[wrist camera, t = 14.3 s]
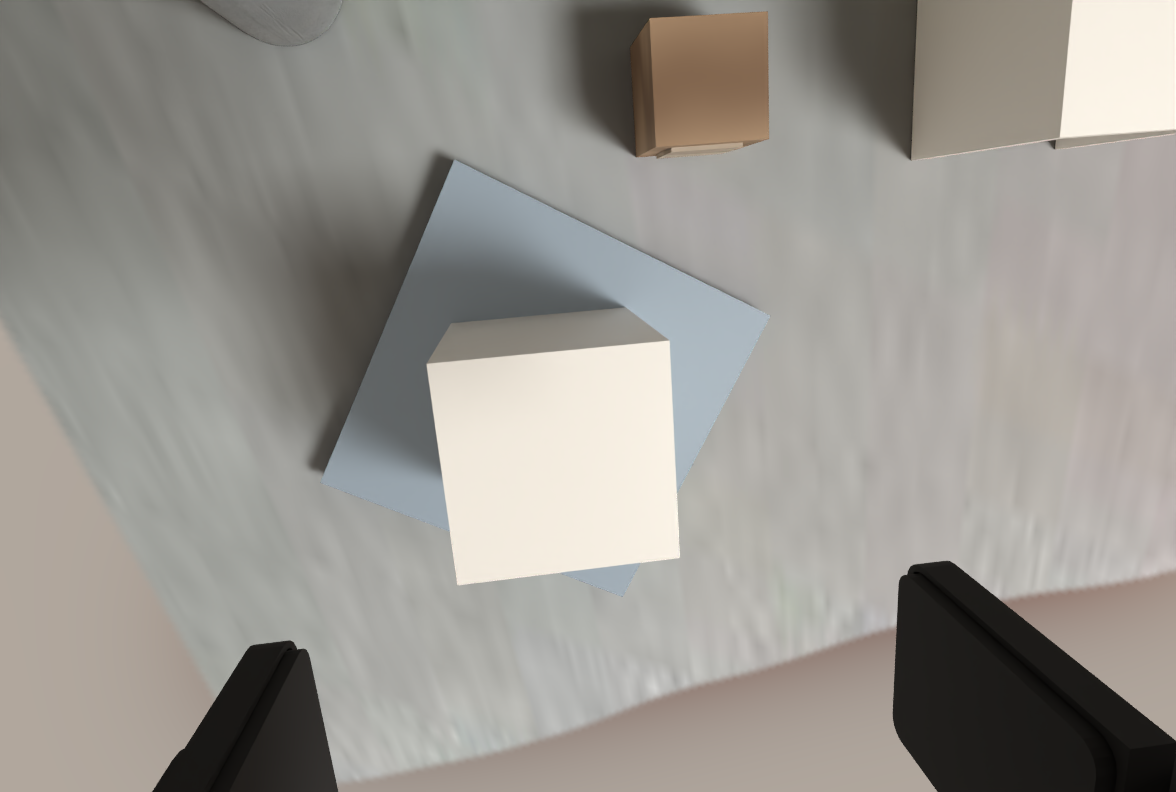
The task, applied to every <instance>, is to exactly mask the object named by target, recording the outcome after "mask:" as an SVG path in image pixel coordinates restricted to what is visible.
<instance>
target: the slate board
mask: <svg viewBox="0 0 1176 792" xmlns="http://www.w3.org/2000/svg"><path fill="white" fill-rule="evenodd" d="M624 307H626V308H627V309H629V310H630V311H631V312H633V313H634V314H635V315H637V316H638V317H639V318H640V319H642V320H643V321H644V322H646V323H647V324H648V325H650V326H651V327H652V328H654V329H655V330H656V331H658V332H659V333H660V334H662V335H663V336H664V337H666V338H667V339H668V340H670V359H671V381H672V402H673V423H674V444H675V466H676V487H677V493H678V491H679V489H680V487H681V485H682V483H683V481H684V479H685V477H686V476H687V474H688V472H689V470H690V468H691V466H692V464H693V462H694V460H695V458H696V457H697V455H698V453H699V451H700V449H701V447H702V445H703V443H704V441H705V439H706V437H707V436H708V434H709V432H710V430H711V428H712V426H713V424H714V422H715V420H716V418H717V417H718V415H719V413H720V411H721V409H722V407H723V405H724V403H725V401H726V399H727V397H728V396H729V394H730V392H731V390H732V388H733V386H734V384H735V382H736V380H737V378H738V377H739V375H740V373H741V371H742V369H743V367H744V365H745V363H746V361H747V359H748V358H749V356H750V354H751V352H752V350H753V348H754V346H755V344H756V342H757V340H758V338H759V337H760V335H761V333H762V331H763V329H764V327H765V325H766V323H767V321H768V319H769V318H770V315H768V314H766V313H764V312H762V311H760V310H758V309H756V308H754V307H752V306H750V305H748V304H746V303H744V302H742V301H740V300H738V299H736V298H734V297H732V296H729V295H727V294H725V293H723V292H721V291H719V290H717V289H715V288H713V287H711V286H709V285H707V284H705V283H703V282H701V281H699V280H697V279H695V278H693V277H691V276H689V275H687V274H685V273H683V272H681V271H679V270H677V269H675V268H673V267H671V266H669V265H667V264H665V263H663V262H661V261H659V260H657V259H655V258H653V257H651V256H649V255H647V254H645V253H643V252H641V251H638V250H636V249H634V248H632V247H630V246H628V245H626V244H624V243H622V242H620V241H618V240H616V239H614V238H612V237H610V236H608V235H606V234H604V233H602V232H600V231H598V230H596V229H594V228H592V227H590V226H588V225H586V224H584V223H582V222H580V221H578V220H576V219H574V218H572V217H570V216H568V215H566V214H564V213H562V212H560V211H558V210H556V209H554V208H552V207H550V206H548V205H545V204H543V203H541V202H539V201H537V200H535V199H533V198H531V197H529V196H527V195H525V194H523V193H521V192H519V191H517V190H515V189H513V188H511V187H509V186H507V185H505V184H503V183H501V182H499V181H497V180H495V179H493V178H491V177H489V176H487V175H485V174H483V173H481V172H479V171H477V170H475V169H473V168H471V167H469V166H467V165H465V164H463V163H461V162H459V161H457V160H455V159H454V162H453V164H452V166H451V169H450V171H449V174H448V176H447V178H446V181H445V183H444V186H443V188H442V190H441V193H440V195H439V198H438V200H437V202H436V205H435V207H434V210H433V212H432V215H431V217H430V219H429V222H428V224H427V227H426V229H425V231H424V234H423V236H422V239H421V241H420V243H419V246H418V248H417V251H416V253H415V255H414V258H413V260H412V263H411V265H410V267H409V270H408V272H407V275H406V277H405V280H404V282H403V284H402V287H401V289H400V292H399V294H398V296H397V299H396V301H395V304H394V306H393V308H392V311H391V313H390V316H389V318H388V320H387V323H386V325H385V328H384V330H383V332H382V335H381V337H380V340H379V342H378V345H377V347H376V349H375V352H374V354H373V357H372V359H371V361H370V364H369V366H368V369H367V371H366V373H365V376H364V378H363V381H362V383H361V385H360V388H359V390H358V393H357V395H356V398H355V400H354V402H353V405H352V407H351V410H350V412H349V414H348V417H347V419H346V422H345V424H344V426H343V429H342V431H341V434H340V436H339V438H338V441H337V443H336V446H335V448H334V450H333V453H332V455H331V458H330V460H329V463H328V465H327V467H326V470H325V472H324V475H323V477H322V479H321V482H320V483H322V484H325V485H328V486H330V487H333V488H336V489H338V490H341V491H344V492H346V493H349V494H351V495H354V496H357V497H359V498H362V499H365V500H367V501H370V502H373V503H375V504H378V505H381V506H383V507H386V508H389V509H391V510H394V511H396V512H399V513H402V514H404V515H407V516H410V517H412V518H415V519H418V520H420V521H423V522H426V523H428V524H431V525H434V526H436V527H439V528H441V529H444V530H447V531H449V532H450V528H449V521H448V514H447V507H446V500H445V493H444V485H443V478H442V471H441V464H440V457H439V450H438V443H437V436H436V429H435V421H434V414H433V407H432V400H431V393H430V386H429V379H428V372H427V362H428V360H429V359H430V357H431V356H432V354H433V352H434V351H435V349H436V347H437V346H438V344H439V342H440V341H441V339H442V337H443V336H444V334H445V332H446V331H447V329H448V327H449V326H450V324H451V323H460V322H471V321H482V320H493V319H503V318H514V317H525V316H536V315H547V314H558V313H569V312H580V311H591V310H602V309H613V308H624ZM639 565H640V563H634V564H626V565H618V566H610V567H602V568H594V569H585V570H577V571H569V572H561V574H563V575H566V576H569V577H571V578H574V579H576V580H579V581H582V582H584V583H587V584H590V585H592V586H595V587H598V588H600V589H603V590H606V591H608V592H611V593H614V594H616V595H619V596H622V597H623V595H624V594H625V592H626V590H627V588H628V586H629V584H630V582H631V580H632V578H633V576H634V575H635V573H636V571H637V569H638V567H639Z"/></svg>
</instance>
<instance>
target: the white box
mask: <svg viewBox="0 0 1176 792" xmlns="http://www.w3.org/2000/svg"><path fill="white" fill-rule="evenodd" d="M427 372H428V379H429V386H430V393H431V400H432V407H433V414H434V421H435V429H436V436H437V443H438V450H439V457H440V464H441V471H442V478H443V485H444V493H445V500H446V507H447V514H448V521H449V528H450V535H451V542H452V550H453V557H454V564H455V571H456V578H457V585H464V584H472V583H480V582H488V581H496V580H504V579H513V578H521V577H529V576H537V575H545V574H553V573H561V572H569V571H577V570H585V569H594V568H602V567H610V566H618V565H626V564H634V563H642V562H650V561H658V560H666V559H675V558H680V550H679V529H678V508H677V487H676V466H675V444H674V423H673V402H672V381H671V359H670V340H668V339H667V338H666V337H664V336H663V335H662V334H660V333H659V332H658V331H656V330H655V329H654V328H652V327H651V326H650V325H648V324H647V323H646V322H644V321H643V320H642V319H640V318H639V317H638V316H637V315H635V314H634V313H633V312H631V311H630V310H629V309H627V308H626V307H624V308H613V309H602V310H591V311H580V312H569V313H558V314H547V315H536V316H525V317H514V318H503V319H493V320H482V321H471V322H460V323H451V324H450V326H449V327H448V329H447V331H446V332H445V334H444V336H443V337H442V339H441V341H440V342H439V344H438V346H437V347H436V349H435V351H434V352H433V354H432V356H431V357H430V359H429V360H428V362H427Z"/></svg>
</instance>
